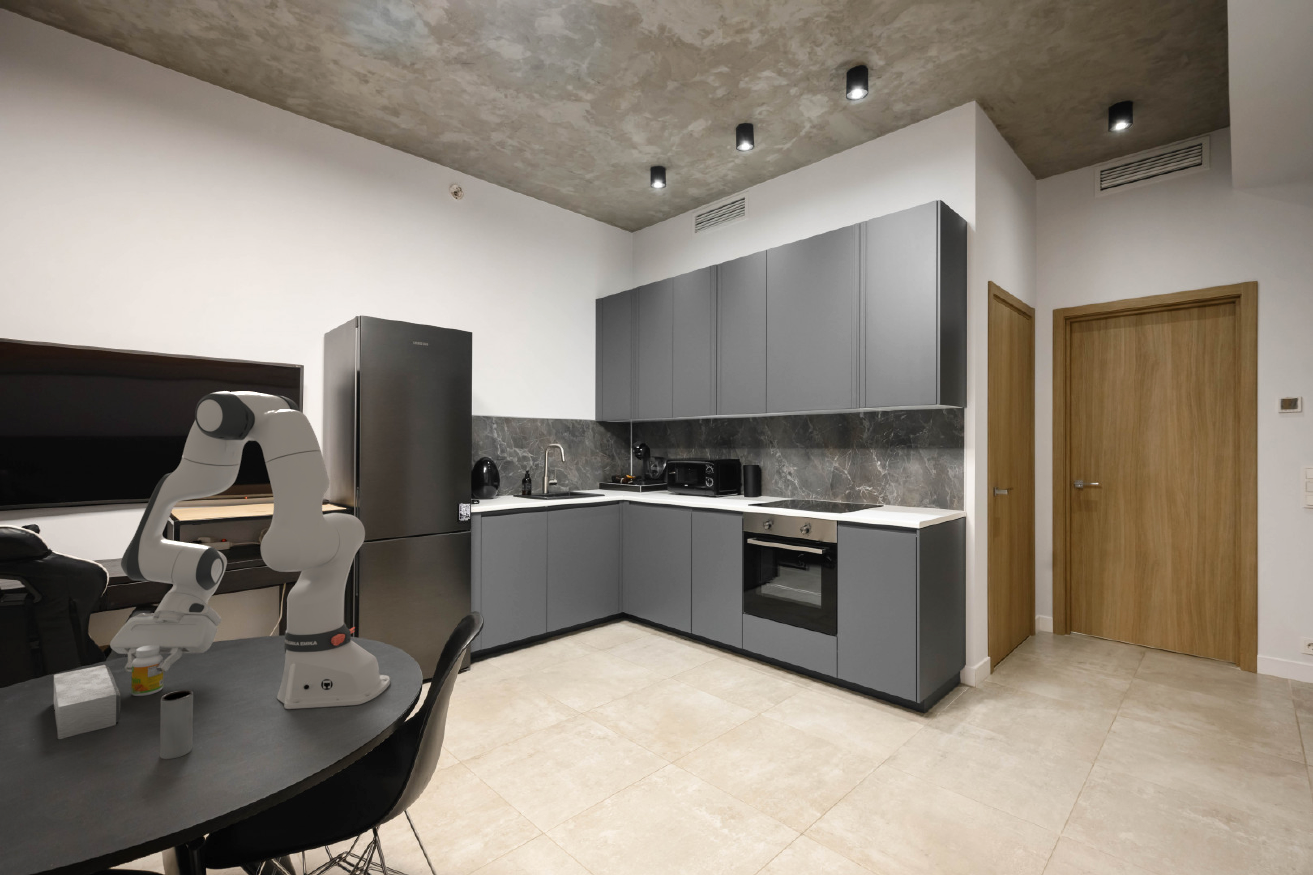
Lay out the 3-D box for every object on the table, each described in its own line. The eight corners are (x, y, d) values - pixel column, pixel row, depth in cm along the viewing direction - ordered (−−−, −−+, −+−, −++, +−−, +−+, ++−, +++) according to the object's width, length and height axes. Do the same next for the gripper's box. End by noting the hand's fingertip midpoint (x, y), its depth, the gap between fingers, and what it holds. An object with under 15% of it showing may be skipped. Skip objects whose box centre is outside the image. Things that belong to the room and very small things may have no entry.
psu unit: (121, 723, 119) (122, 692, 119) (58, 739, 112) (58, 707, 112) (110, 690, 134) (110, 663, 134) (53, 703, 127) (53, 674, 127)
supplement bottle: (125, 694, 132) (126, 649, 132) (153, 684, 137) (154, 642, 137) (140, 698, 130) (141, 653, 130) (168, 688, 135) (169, 645, 135)
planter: (166, 762, 105) (167, 702, 105) (155, 754, 107) (156, 696, 107) (196, 750, 109) (197, 693, 109) (185, 743, 111) (186, 687, 111)
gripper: (125, 606, 140) (87, 664, 130) (216, 606, 141) (185, 663, 131) (140, 620, 145) (104, 677, 135) (228, 619, 145) (199, 676, 136)
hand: (145, 670), depth 133 cm, fingers closed on supplement bottle, 5 cm apart
